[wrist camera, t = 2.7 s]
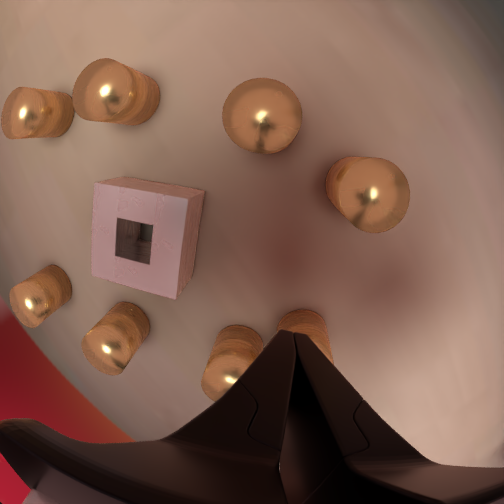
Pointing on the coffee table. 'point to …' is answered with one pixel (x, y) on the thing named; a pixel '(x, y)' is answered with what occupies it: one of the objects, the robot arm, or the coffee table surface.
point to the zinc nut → (129, 227)
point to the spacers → (241, 133)
